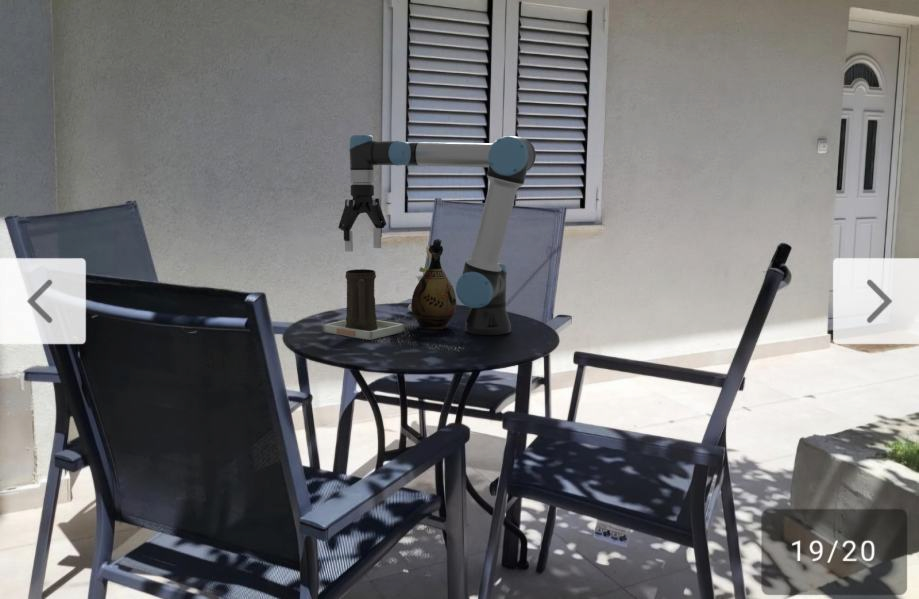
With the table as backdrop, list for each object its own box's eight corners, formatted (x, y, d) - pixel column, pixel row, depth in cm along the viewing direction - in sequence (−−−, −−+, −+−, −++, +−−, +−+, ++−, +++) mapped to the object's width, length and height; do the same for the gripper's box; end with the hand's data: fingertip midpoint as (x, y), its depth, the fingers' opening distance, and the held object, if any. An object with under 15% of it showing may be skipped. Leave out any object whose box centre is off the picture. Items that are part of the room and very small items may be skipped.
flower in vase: (424, 316, 310) (424, 248, 306) (401, 312, 317) (401, 246, 313) (446, 311, 321) (447, 245, 317) (423, 308, 327) (423, 243, 323)
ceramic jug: (456, 331, 282) (456, 241, 277) (410, 331, 281) (409, 241, 277) (456, 322, 298) (456, 237, 294) (412, 322, 298) (412, 237, 293)
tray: (358, 324, 294) (358, 317, 293) (404, 331, 281) (404, 324, 281) (322, 332, 280) (322, 324, 279) (369, 340, 268) (369, 332, 267)
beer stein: (342, 326, 286) (341, 268, 281) (373, 324, 289) (373, 267, 285) (350, 338, 272) (350, 277, 267) (383, 336, 275) (383, 276, 270)
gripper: (379, 183, 285) (380, 245, 288) (326, 184, 265) (327, 251, 269) (396, 183, 281) (397, 247, 284) (343, 184, 261) (345, 253, 264)
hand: (363, 249), depth 276 cm, fingers open, 13 cm apart
